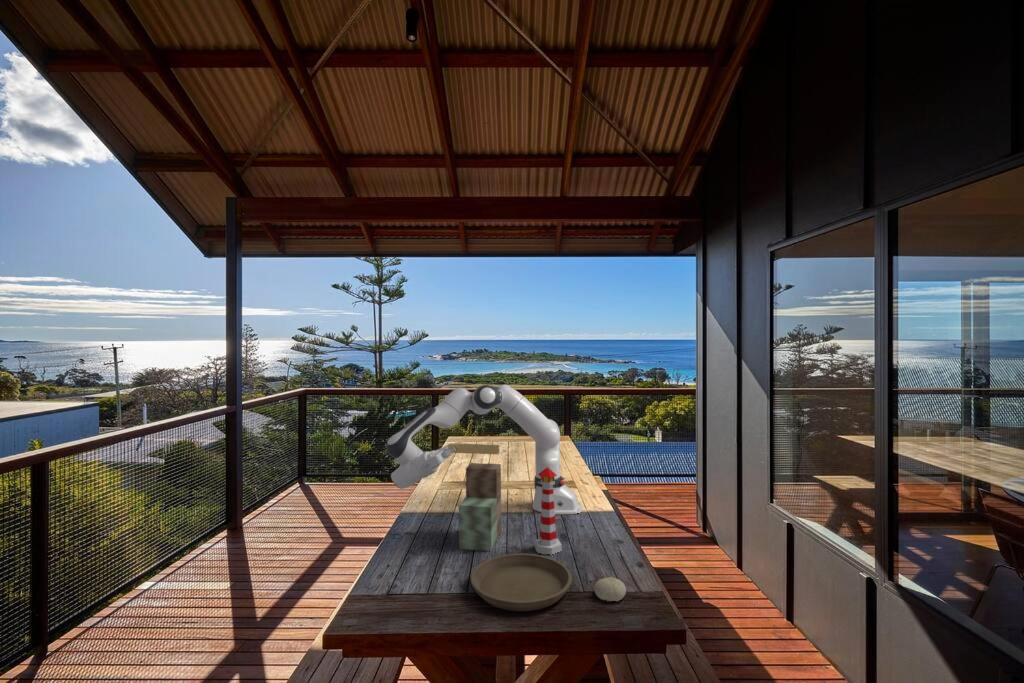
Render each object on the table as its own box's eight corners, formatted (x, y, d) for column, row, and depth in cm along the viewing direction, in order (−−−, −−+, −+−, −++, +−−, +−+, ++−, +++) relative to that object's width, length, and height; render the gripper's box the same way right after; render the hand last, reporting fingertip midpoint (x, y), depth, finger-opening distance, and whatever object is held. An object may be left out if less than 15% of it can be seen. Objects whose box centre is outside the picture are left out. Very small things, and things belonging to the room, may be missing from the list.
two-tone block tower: (501, 532, 204) (500, 464, 203) (491, 551, 186) (490, 476, 186) (471, 530, 206) (471, 463, 205) (459, 548, 188) (458, 475, 188)
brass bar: (499, 452, 201) (499, 444, 201) (497, 454, 198) (497, 446, 198) (450, 450, 204) (449, 443, 204) (447, 452, 201) (447, 445, 201)
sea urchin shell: (588, 583, 158) (606, 564, 158) (606, 600, 158) (624, 581, 159) (595, 598, 149) (614, 578, 149) (614, 616, 149) (633, 596, 150)
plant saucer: (540, 628, 137) (540, 611, 137) (449, 597, 154) (449, 582, 154) (588, 581, 164) (588, 566, 164) (506, 559, 180) (505, 546, 180)
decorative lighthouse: (564, 546, 190) (564, 465, 189) (558, 556, 181) (558, 471, 181) (537, 542, 193) (537, 463, 193) (530, 552, 185) (530, 469, 184)
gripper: (414, 463, 194) (444, 445, 192) (432, 450, 215) (460, 435, 212) (422, 477, 194) (453, 460, 192) (439, 464, 214) (467, 448, 212)
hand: (456, 447), depth 202 cm, fingers closed on brass bar, 3 cm apart
